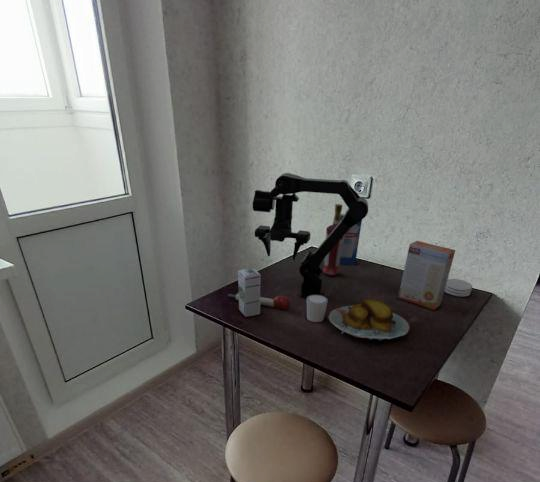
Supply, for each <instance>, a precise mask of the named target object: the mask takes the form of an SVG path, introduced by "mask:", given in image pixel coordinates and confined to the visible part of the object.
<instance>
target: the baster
mask: <svg viewBox="0 0 540 482" xmlns="http://www.w3.org/2000/svg"><path fill="white" fill-rule="evenodd" d="M228 298H232V299H235V301H238V302H239V292H237V293H236V294H233V293H229V294H228ZM290 304H291V301H290V299H289V298H288V297H287V296H282V295H277V296H275V297H274V298H268V297H262V296H260V306H266V307H271V308H277V309H281V310H287V309H288V308H289V307H290Z"/></svg>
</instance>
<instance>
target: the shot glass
mask: <svg viewBox="0 0 540 482" xmlns="http://www.w3.org/2000/svg"><path fill="white" fill-rule="evenodd" d="M328 301H329V299H328V298H327V297H326V296H324V295H322V294H321V295H310V296H308V297H307V298H306V319H307V320H308V321H310V322H313V323H321V322H324V319H325V315H326V310H327V307H328Z"/></svg>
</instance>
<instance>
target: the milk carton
mask: <svg viewBox="0 0 540 482" xmlns="http://www.w3.org/2000/svg"><path fill="white" fill-rule="evenodd" d="M344 215H345V213H341V220H342V219H343V217H344ZM362 222H363V219H362V220H361V221H360V222H358V223H357V224H356V225H354V226H353V227H351V228H350V229H349V230H348V231H347V232H346V233H345V235H344V241H343V246H342V251H341V257H340V263H339V265H349V266H355V265H356V261H357V254H358V248H359V241H360V237H361V229H362V224H363V223H362Z"/></svg>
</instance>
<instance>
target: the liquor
mask: <svg viewBox="0 0 540 482" xmlns="http://www.w3.org/2000/svg"><path fill="white" fill-rule="evenodd" d="M342 210H343V204H341V203H336V204H334V216H333V220H332V221H333V222H332V224H331V225H329V226H327V227H326V232H325V239H326V238H327V237H328V235H329V234H330V233H331V232H332V231H333V230H334V228H335V227H336V226H337V225H338V224H339V222H340V221H341V214H342ZM343 241H344V236H343V237H342V238H341V239H340V240H339V242H338V243H337V244H336V245H335V246H334V247H333V248H332V250H331V251H330V252H329V253H328V254H327V255H326V257H325V258H324V261H323V262H324V263H323V269H322V271H323V274H324V275H325V276H327V277H335V276H337V275H338V274H339V273H340V270H339V269H340V264H339V263H340V257H341V251H342V246H343Z"/></svg>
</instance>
